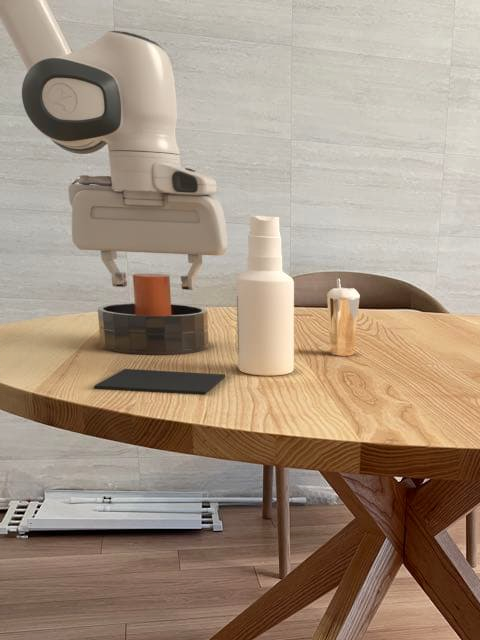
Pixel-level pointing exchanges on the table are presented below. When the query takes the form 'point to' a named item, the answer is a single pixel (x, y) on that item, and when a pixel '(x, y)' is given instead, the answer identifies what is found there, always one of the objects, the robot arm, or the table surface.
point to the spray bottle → (265, 304)
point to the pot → (153, 330)
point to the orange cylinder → (152, 294)
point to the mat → (161, 381)
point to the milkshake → (342, 319)
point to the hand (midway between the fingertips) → (154, 287)
